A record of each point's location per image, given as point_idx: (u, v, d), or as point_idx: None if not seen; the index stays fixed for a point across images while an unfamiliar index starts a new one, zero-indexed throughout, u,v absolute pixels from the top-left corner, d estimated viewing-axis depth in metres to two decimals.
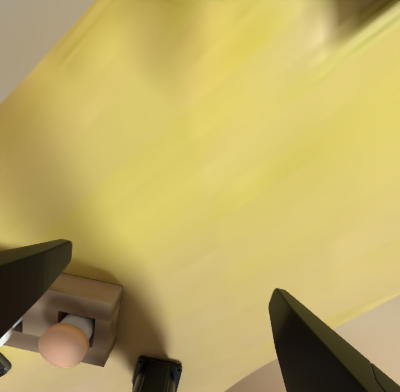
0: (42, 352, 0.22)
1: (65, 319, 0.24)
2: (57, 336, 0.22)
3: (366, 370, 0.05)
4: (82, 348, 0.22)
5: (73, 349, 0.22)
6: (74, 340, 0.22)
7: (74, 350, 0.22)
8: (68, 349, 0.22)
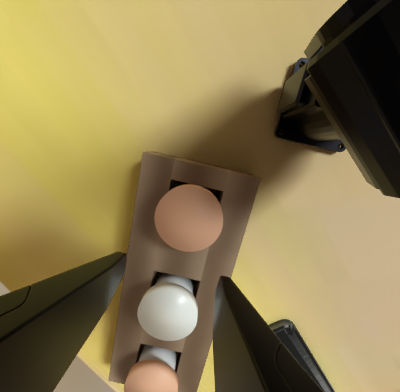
0: (195, 247, 0.15)
1: None
2: (164, 220, 0.15)
3: (270, 348, 0.05)
4: (184, 187, 0.14)
5: (186, 201, 0.15)
6: (169, 197, 0.15)
7: (187, 199, 0.14)
8: (186, 209, 0.15)
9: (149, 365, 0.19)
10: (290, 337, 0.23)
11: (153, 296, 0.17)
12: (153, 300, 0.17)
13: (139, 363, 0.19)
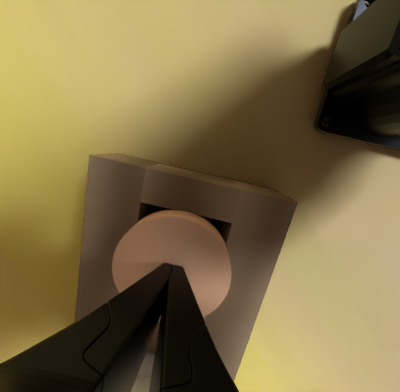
0: None
1: None
2: (129, 273, 0.09)
3: (189, 330, 0.05)
4: (161, 218, 0.08)
5: (166, 242, 0.08)
6: (136, 235, 0.08)
7: (168, 239, 0.08)
8: (166, 255, 0.08)
9: None
10: None
11: None
12: None
13: None
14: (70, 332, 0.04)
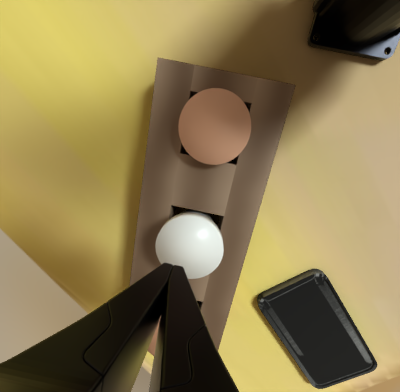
0: (221, 159, 0.15)
1: None
2: (188, 129, 0.14)
3: (189, 330, 0.05)
4: (209, 89, 0.14)
5: (212, 105, 0.14)
6: (194, 101, 0.14)
7: (213, 103, 0.14)
8: (212, 114, 0.14)
9: None
10: (321, 288, 0.21)
11: (173, 224, 0.15)
12: (173, 229, 0.15)
13: None
14: (70, 332, 0.04)
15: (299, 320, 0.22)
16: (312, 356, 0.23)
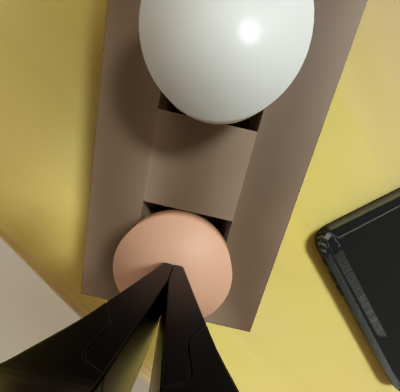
0: None
1: None
2: None
3: (189, 330, 0.05)
4: None
5: None
6: None
7: None
8: None
9: (170, 214, 0.08)
10: None
11: None
12: None
13: (147, 217, 0.09)
14: (70, 332, 0.04)
15: (388, 274, 0.13)
16: None
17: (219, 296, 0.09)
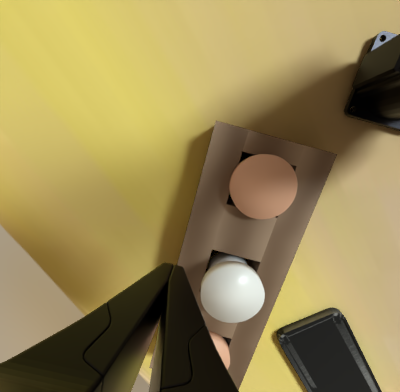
0: (266, 215, 0.16)
1: None
2: (240, 187, 0.16)
3: (189, 330, 0.05)
4: (263, 155, 0.15)
5: (264, 169, 0.15)
6: (248, 164, 0.15)
7: (265, 167, 0.15)
8: (263, 176, 0.15)
9: None
10: (338, 326, 0.22)
11: (220, 274, 0.16)
12: (220, 278, 0.16)
13: None
14: (70, 332, 0.04)
15: (316, 355, 0.23)
16: (324, 389, 0.24)
17: None
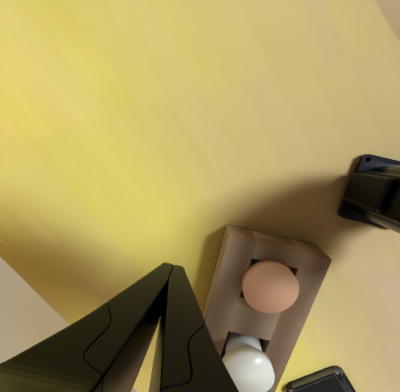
0: (274, 310, 0.19)
1: None
2: (251, 290, 0.19)
3: (189, 330, 0.05)
4: (269, 266, 0.18)
5: (270, 276, 0.18)
6: (257, 273, 0.18)
7: (271, 275, 0.18)
8: (269, 282, 0.19)
9: None
10: (340, 382, 0.25)
11: (237, 361, 0.19)
12: (237, 364, 0.19)
13: None
14: (70, 332, 0.04)
15: None
16: None
17: None
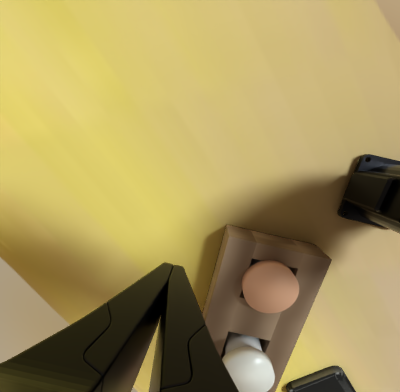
0: (274, 310, 0.19)
1: None
2: (251, 290, 0.19)
3: (189, 330, 0.05)
4: (269, 266, 0.18)
5: (270, 276, 0.18)
6: (257, 273, 0.18)
7: (271, 275, 0.18)
8: (269, 282, 0.19)
9: None
10: (340, 382, 0.25)
11: (237, 361, 0.19)
12: (237, 364, 0.19)
13: None
14: (70, 332, 0.04)
15: None
16: None
17: None
